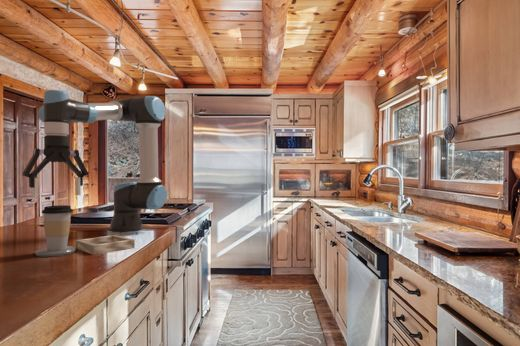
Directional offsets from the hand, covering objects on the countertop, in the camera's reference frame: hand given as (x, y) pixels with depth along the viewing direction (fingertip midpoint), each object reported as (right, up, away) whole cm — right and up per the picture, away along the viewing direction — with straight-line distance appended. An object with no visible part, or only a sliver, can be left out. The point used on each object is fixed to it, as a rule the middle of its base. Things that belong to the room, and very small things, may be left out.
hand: (57, 196), depth 121 cm
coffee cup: (0, -19, 0) cm, 19 cm away
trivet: (0, -20, 0) cm, 20 cm away
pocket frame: (+13, -20, +8) cm, 25 cm away
